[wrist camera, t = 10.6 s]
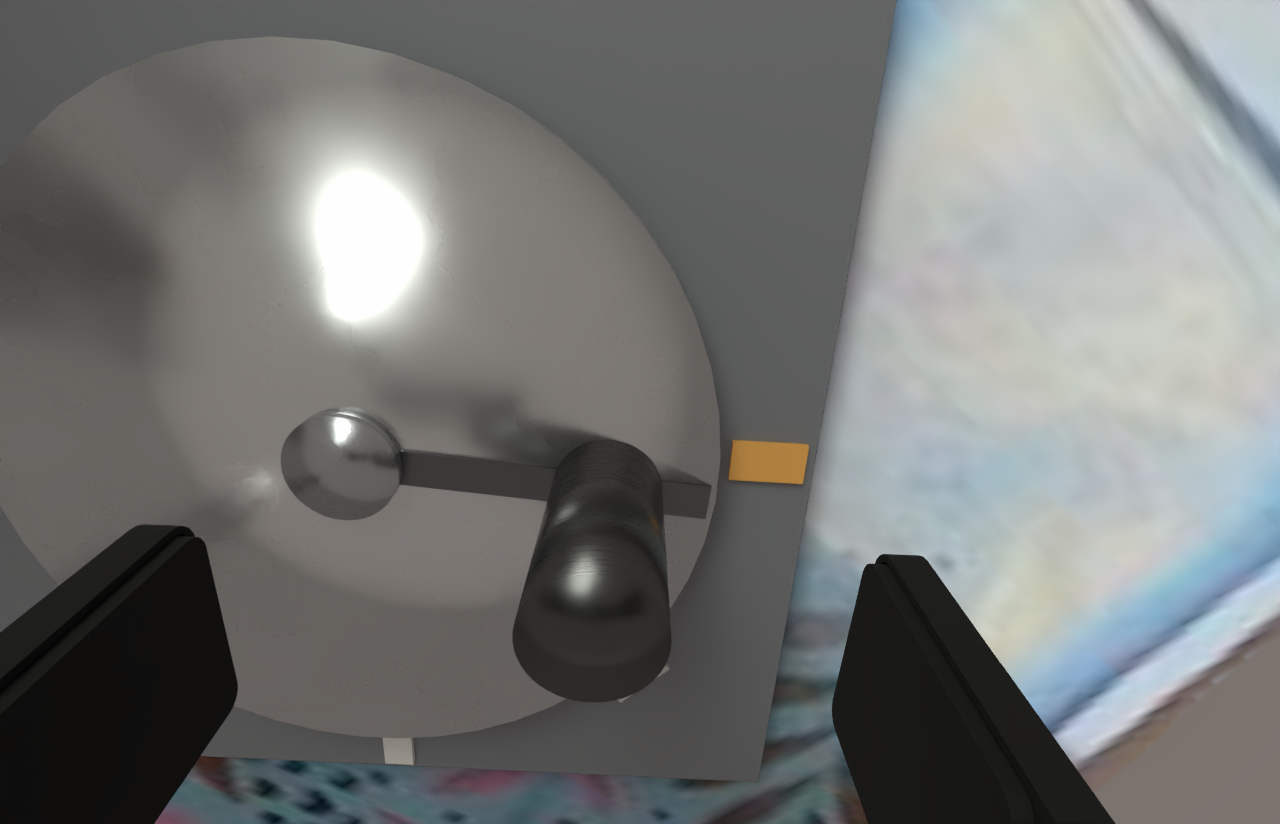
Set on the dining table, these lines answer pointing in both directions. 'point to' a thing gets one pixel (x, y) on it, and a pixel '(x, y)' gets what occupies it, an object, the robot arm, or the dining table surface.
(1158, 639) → the dining table surface
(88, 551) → the dial
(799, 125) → the dial plate
